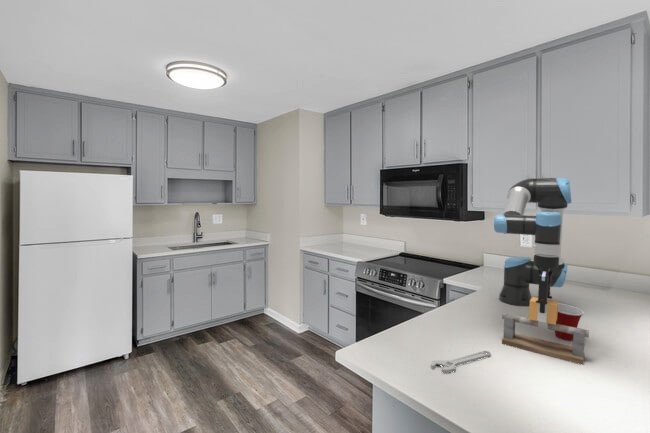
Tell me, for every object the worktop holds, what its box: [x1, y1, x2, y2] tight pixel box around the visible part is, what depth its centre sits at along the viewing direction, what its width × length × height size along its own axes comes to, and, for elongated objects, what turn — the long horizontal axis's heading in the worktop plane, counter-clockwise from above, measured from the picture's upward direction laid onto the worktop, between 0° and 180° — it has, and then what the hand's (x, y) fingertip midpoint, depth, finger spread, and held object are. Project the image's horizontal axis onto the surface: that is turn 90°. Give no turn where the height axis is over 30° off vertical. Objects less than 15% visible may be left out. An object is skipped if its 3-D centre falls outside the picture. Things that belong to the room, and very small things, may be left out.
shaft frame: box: [501, 312, 590, 365], centre depth 119 cm, size 10×26×10 cm, turn 51°
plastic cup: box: [554, 302, 585, 341], centre depth 129 cm, size 11×11×12 cm
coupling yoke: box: [528, 296, 559, 325], centre depth 118 cm, size 6×8×7 cm
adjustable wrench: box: [430, 350, 492, 374], centre depth 109 cm, size 25×6×2 cm, turn 111°
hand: (543, 318), depth 119 cm, fingers closed on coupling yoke, 6 cm apart
